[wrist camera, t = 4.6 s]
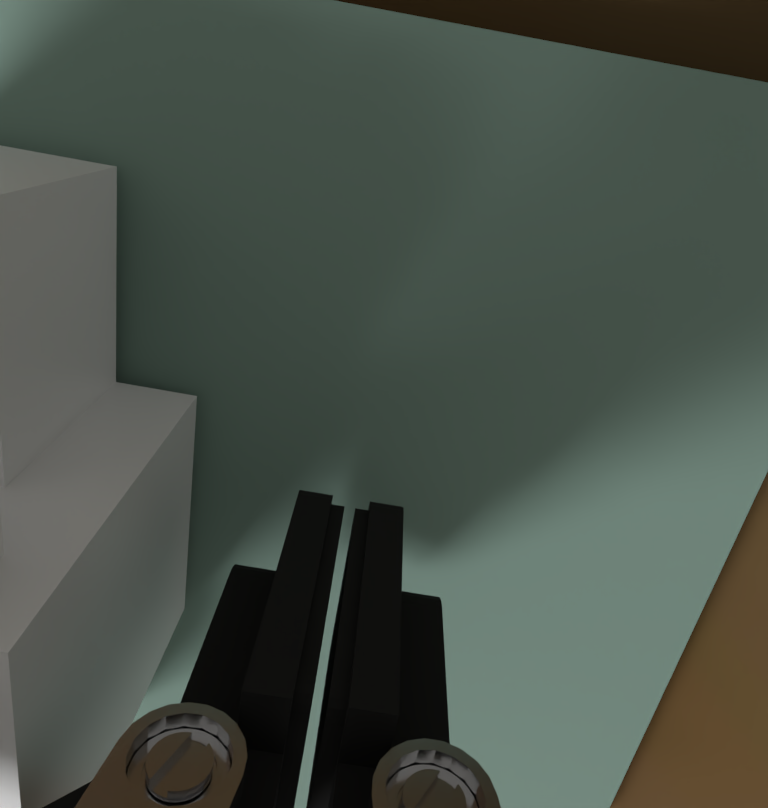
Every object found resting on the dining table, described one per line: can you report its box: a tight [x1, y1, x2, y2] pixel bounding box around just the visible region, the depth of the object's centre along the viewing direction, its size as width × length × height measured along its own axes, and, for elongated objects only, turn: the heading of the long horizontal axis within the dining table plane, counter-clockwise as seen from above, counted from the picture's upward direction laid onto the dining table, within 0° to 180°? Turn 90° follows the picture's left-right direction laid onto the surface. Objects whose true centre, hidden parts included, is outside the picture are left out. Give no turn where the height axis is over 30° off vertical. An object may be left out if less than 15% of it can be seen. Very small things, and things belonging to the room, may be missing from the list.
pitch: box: [0, 0, 768, 808], centre depth 12 cm, size 24×16×1 cm, turn 80°
